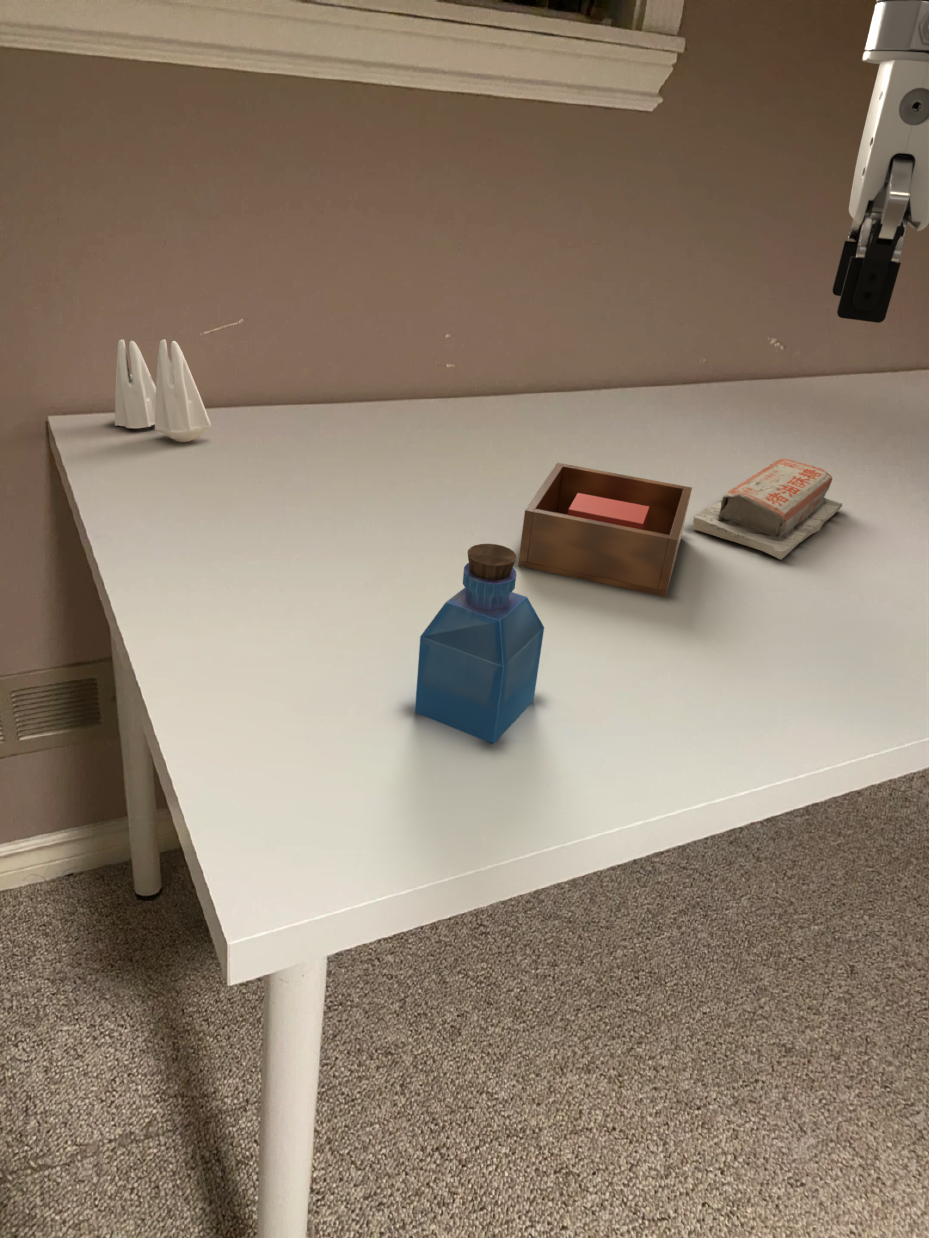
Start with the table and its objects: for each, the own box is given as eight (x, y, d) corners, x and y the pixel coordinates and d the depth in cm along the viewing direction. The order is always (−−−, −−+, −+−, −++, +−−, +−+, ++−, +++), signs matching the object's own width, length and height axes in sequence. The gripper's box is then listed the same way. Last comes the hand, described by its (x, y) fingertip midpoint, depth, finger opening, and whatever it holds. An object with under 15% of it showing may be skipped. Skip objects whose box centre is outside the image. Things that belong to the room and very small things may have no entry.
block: (642, 544, 92) (649, 506, 90) (635, 562, 88) (643, 523, 86) (571, 530, 94) (577, 492, 92) (562, 548, 90) (568, 509, 88)
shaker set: (214, 441, 108) (210, 344, 103) (187, 451, 105) (181, 350, 100) (139, 417, 113) (131, 323, 108) (112, 425, 110) (102, 329, 105)
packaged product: (765, 447, 108) (852, 472, 103) (755, 487, 110) (840, 513, 105) (698, 487, 95) (794, 517, 90) (689, 531, 97) (781, 563, 92)
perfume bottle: (493, 744, 63) (513, 586, 57) (414, 713, 65) (425, 557, 60) (533, 701, 68) (555, 551, 62) (458, 673, 70) (472, 526, 64)
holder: (680, 539, 95) (692, 487, 93) (665, 597, 84) (677, 540, 81) (549, 513, 98) (557, 462, 96) (517, 566, 87) (524, 510, 84)
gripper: (1014, 35, 54) (921, 337, 63) (968, 52, 69) (897, 295, 77) (877, 26, 56) (804, 322, 64) (860, 44, 70) (802, 284, 79)
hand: (855, 307), depth 71 cm, fingers open, 9 cm apart
